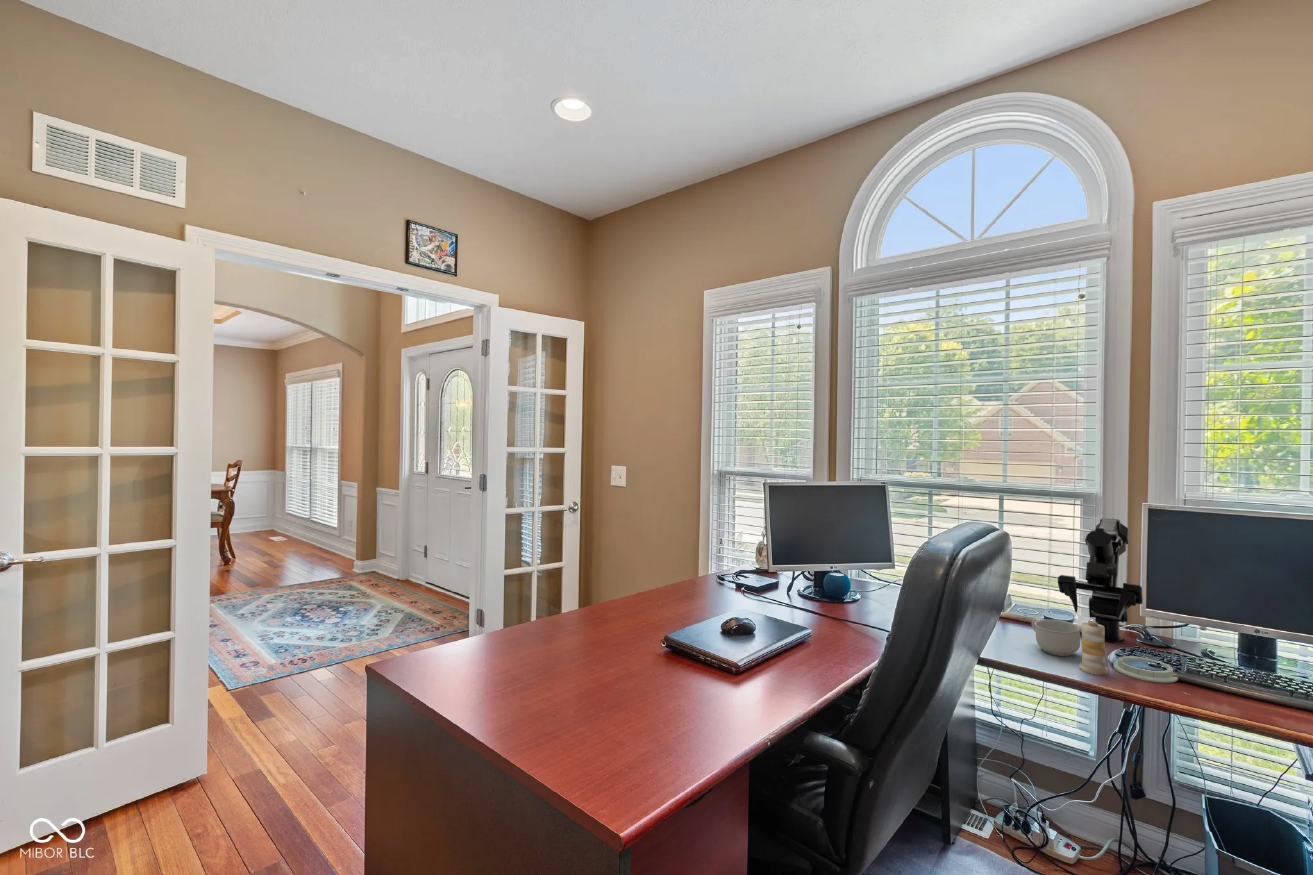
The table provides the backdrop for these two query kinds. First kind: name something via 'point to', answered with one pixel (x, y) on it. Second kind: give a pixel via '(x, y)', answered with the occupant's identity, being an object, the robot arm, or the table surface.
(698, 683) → the table surface
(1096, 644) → the bead column
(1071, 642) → the teacup
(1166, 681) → the ring dish
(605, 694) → the table surface
